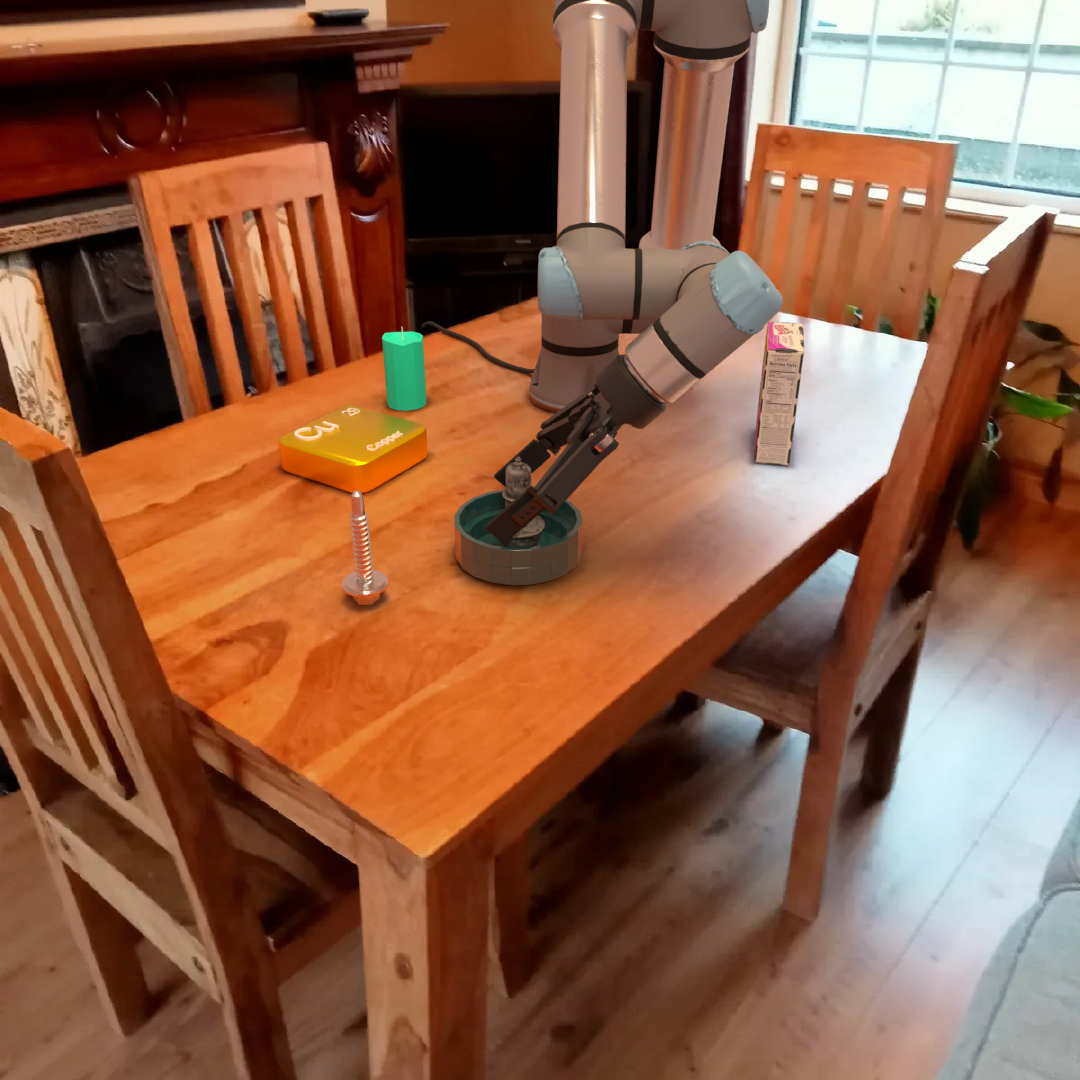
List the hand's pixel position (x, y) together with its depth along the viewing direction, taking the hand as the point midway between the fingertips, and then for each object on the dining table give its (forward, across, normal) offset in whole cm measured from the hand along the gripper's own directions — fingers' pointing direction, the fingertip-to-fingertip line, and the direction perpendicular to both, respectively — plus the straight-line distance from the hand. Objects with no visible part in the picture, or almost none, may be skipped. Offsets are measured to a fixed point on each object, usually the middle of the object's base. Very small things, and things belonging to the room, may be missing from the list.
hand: (498, 507), depth 112 cm
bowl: (+3, 0, -6) cm, 7 cm away
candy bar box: (-21, +30, -30) cm, 47 cm away
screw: (+14, -10, +5) cm, 18 cm away
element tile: (+19, +24, +10) cm, 32 cm away
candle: (+17, +44, +8) cm, 48 cm away
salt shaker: (+3, 0, -6) cm, 6 cm away
